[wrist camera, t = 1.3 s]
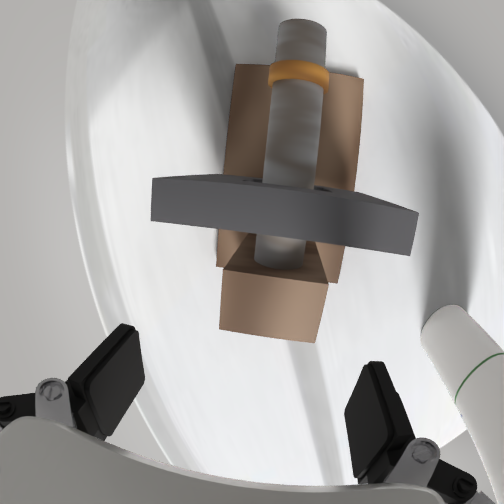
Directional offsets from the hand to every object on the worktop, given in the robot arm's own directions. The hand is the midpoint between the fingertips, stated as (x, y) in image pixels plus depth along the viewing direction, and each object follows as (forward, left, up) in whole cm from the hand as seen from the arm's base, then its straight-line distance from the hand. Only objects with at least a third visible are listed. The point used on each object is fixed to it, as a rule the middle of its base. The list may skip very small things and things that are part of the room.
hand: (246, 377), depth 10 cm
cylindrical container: (-23, +7, -18) cm, 30 cm away
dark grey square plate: (-1, -6, -15) cm, 16 cm away
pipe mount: (-1, -8, -18) cm, 20 cm away
